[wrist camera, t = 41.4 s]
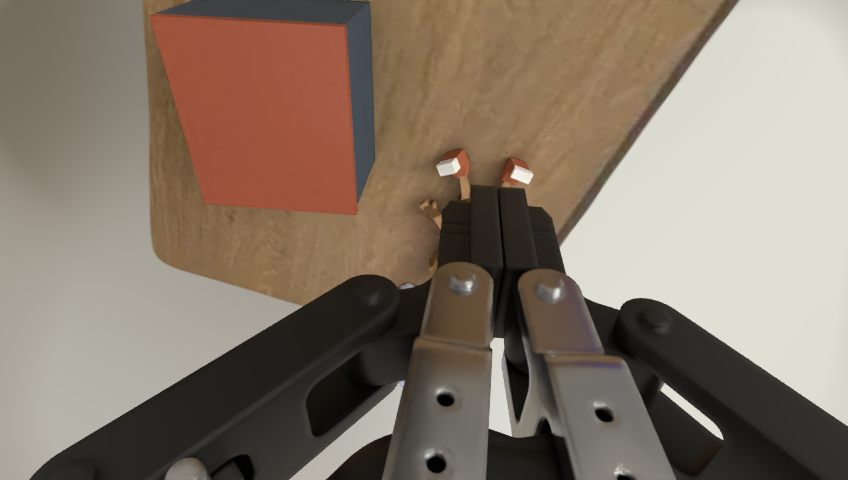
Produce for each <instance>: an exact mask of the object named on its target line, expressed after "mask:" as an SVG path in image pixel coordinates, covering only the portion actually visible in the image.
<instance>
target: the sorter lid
mask: <svg viewBox="0 0 848 480" xmlns="http://www.w3.org/2000/svg"><path fill="white" fill-rule="evenodd" d="M150 20H151V23H152V27H153V30H154V33H155V37H156V40H157V44H158V47H159V50H160V54H161V57H162V61H163V64H164V67H165V71H166V74H167V77H168V81H169V84H170V88H171V91H172V94H173V98H174V101H175V105H176V108H177V111H178V115H179V118H180V122H181V125H182V128H183V132H184V135H185V139H186V142H187V145H188V149H189V152H190V156H191V159H192V162H193V166H194V169H195V173H196V176H197V179H198V183H199V186H200V190H201V193H202V196H203V200H204V203H205V204H216V205H229V206H242V207H255V208H268V209H281V210H293V211H306V212H319V213H332V214H345V215H356V214H357V211H358V207H357V190H356V174H355V157H354V141H353V124H352V108H351V91H350V75H349V58H348V42H347V26H346V24H335V23H318V22H300V21H283V20H265V19H247V18H230V17H212V16H194V15H177V14H159V13H155V14H152V15H150Z"/></svg>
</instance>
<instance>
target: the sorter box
mask: <svg viewBox="0 0 848 480" xmlns="http://www.w3.org/2000/svg"><path fill="white" fill-rule="evenodd" d="M158 13H159V14H177V15H194V16H212V17H230V18H247V19H265V20H283V21H300V22H318V23H335V24H346V26H347V42H348V58H349V75H350V91H351V108H352V124H353V141H354V157H355V174H356V190H357V204H358V202H359V199H360V197H361V194H362V192H363V189H364V186H365V184H366V181H367V179H368V176H369V173H370V171H371V168H372V166H373V163H374V161H375V138H374V108H373V77H372V46H371V16H370V2H362V1H343V0H193V1H190V2H187V3H184V4H181V5H178V6H175V7H172V8H169V9H167V10H164V11H161V12H158Z"/></svg>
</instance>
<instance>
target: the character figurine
mask: <svg viewBox="0 0 848 480" xmlns="http://www.w3.org/2000/svg"><path fill="white" fill-rule="evenodd" d="M436 167H437V169H438V172H439V174H440V176H445V175H450V174H452V175H453V176H454V177H455V178H456V177H459V178H460V186H461V193H462V194H461V195H460V196H458V197H457V198H458V201H464V202H469V193H470V184H469V182H468V179H467V173H468V172H469V171H470V164H469V161H468V159H467V156H466V154H465V151H464V149H460V150H455V151H450V152H448V154H447V155H446V156H445V157H444V158H443V159H442V160H441V162H440V163H439V164H438V165H437V166H436ZM501 177H502V182H501V183H500V185H499V187H510V186H511V184H513V185H515V184H516V183H517V182H518V181H521V182H524V183H526V184H529V182H530V180H531V179H532V177H533V174H532V172H531V171H530V169H529V168H528V166H527V164H526V162H523V161H520V160H518V159H515V158H513V157H510V159H509V161H508V163H507V165H506V167H505V169H504V170H503V172H502V174H501ZM419 207H420V208H421V209H422V210H423V211H424V212H425V213H426V214H427V215H428V217H429V219H434V220H435V222H436V223H437V225H438V227H439V228H440V233H441V222H442V215H441V214H440V210H439V208H438V206H437V204H436V202H435V200H434V199H433V200H431V201H429V200H428V199H427V198H425V199H424V200H423V201H422V202H420V206H419ZM438 252H439V251H438ZM438 252H436V253H435V256H434V257H433V258H431V259H430V261H429V269H430V271H431V274H432V276H433V274H434V273H435V271H436V269H437V262H438Z"/></svg>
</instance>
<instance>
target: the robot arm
mask: <svg viewBox="0 0 848 480" xmlns="http://www.w3.org/2000/svg"><path fill="white" fill-rule="evenodd" d="M492 326H493V337H495V338H504V347H505V348H504V353H503V358H502V371H503V377H504V383H505V390H506V397H507V404H508V410H509V417H510V423H511V429H512V437H511V436H508V435H505V434H502V433H499V432H497V431H494V430H491V429H488V427H489V409H490V389H491V370H492V349H491V348H490V338H491V331H492ZM400 381H405V382H404V387H403V391H402V396H401V399H400V404H399V408H398V412H397V417H396V421H395V425H394V430H393V434H390V435H387V436H384V437H382V438H379V439H377V440H374V441H373V442H371V443H369V444H367V445H366V446H364V447H362V448H361V449H360V450H358V451H357V452H356V453H354V454H353V455H352V456H351V457H349V458H348V459H347V460H346V461H345V462H344V463H343V464H342V465H341V466H340V467H339V468H338V469H337V470H336V471H335V472H334V473H333V474H332V475H330V476H329V477H328V478H327V479H326V480H848V426H846V425H845V424H843V423H842V422H840V421H839V420H837V419H836V418H835V417H833V416H831V415H830V414H828V413H827V412H825V411H824V410H823V409H821V408H820V407H818V406H816V405H815V404H813V403H812V402H811V401H809V400H808V399H806V398H805V397H803V396H802V395H801V394H799V393H797V392H796V391H794V390H793V389H792V388H790V387H789V386H787V385H786V384H784V383H783V382H781V381H780V380H778V379H777V378H775V377H774V376H772V375H771V374H769V373H768V372H766V371H765V370H764V369H762V368H761V367H759V366H757V365H756V364H754V363H753V362H752V361H750V360H749V359H747V358H746V357H744V356H743V355H741V354H740V353H738V352H737V351H735V350H734V349H732V348H731V347H730V346H728V345H727V344H725V343H724V342H722V341H721V340H719V339H718V338H716V337H715V336H713V335H712V334H710V333H709V332H707V331H706V330H704V329H703V328H701V327H700V326H698V325H697V324H696V323H694V322H692V321H691V320H690V319H688V318H687V317H685V316H684V315H682V314H681V313H679V312H678V311H676V310H675V309H673V308H672V307H670V306H668V305H666V304H664V303H662V302H659V301H655V300H651V299H645V298H636V299H632V300H629V301H627V302H625V303H624V304H623V305H622V306H621V309H620V310H617V309H614V308H611V307H608V306H605V305H601V304H598V303H595V302H592V301H591V300H588V299H587V298H585V297H583V295H582V292H581V290H580V288H579V286H578V285H577V283H576V282H575V281H574V280H573V279H572V278H570V277H569V276H567V275H566V273H565V269H564V264H563V260H562V257H561V253H560V249H559V245H558V242H557V237H556V233H555V229H554V225H553V221H552V218H551V217H550V216H549V215H548V214H547V212H546V211H545V210H544V209H543V208H542V207H532V206H528V205H527V199H526V194H525V189H524V188H511V187H498V188H497V187H496V186H482V185H471V186H470V193H469V202H464V201H450V202H449V203H448V205H447V206H446V207H445V208H444V209H443V212H442V222H441V233H440V242H439V252H438V262H437V269H436V271H435V273H434V274H433V277H432V278H431V279H429V280H428V281H427V282H425V283H423V284H421V285H419V286H416V287H411V288H405V289H399V290H398V288H397V286H396V285H395V284H394V283H393V282H392V281H391V280H389V279H387V278H385V277H382V276H378V275H360V276H356V277H353V278H350V279H348V280H347V281H345V282H343V283H342V284H340V285H338V286H337V287H335V288H333V289H332V290H330V291H328V292H327V293H325V294H323V295H322V296H320V297H318V298H317V299H315V300H313V301H312V302H310V303H308V304H307V305H305V306H303V307H302V308H300V309H298V310H297V311H295V312H293V313H292V314H290V315H288V316H287V317H285V318H283V319H282V320H280V321H278V322H277V323H275V324H273V325H272V326H270V327H268V328H267V329H265V330H263V331H262V332H260V333H258V334H257V335H255V336H254V337H252V338H250V339H248V340H247V341H245V342H243V343H242V344H240V345H238V346H237V347H235V348H233V349H232V350H230V351H228V352H227V353H225V354H224V355H222V356H220V357H219V358H217V359H215V360H213V361H212V362H210V363H208V364H207V365H205V366H203V367H202V368H200V369H198V370H197V371H195V372H193V373H192V374H190V375H188V376H187V377H185V378H183V379H182V380H180V381H178V382H177V383H175V384H173V385H172V386H170V387H169V388H167V389H165V390H163V391H162V392H160V393H159V394H157V395H155V396H153V397H152V398H150V399H148V400H147V401H145V402H143V403H142V404H140V405H138V406H137V407H135V408H134V409H132V410H130V411H128V412H127V413H125V414H123V415H122V416H120V417H118V418H117V419H115V420H113V421H112V422H110V423H108V424H107V425H105V426H103V427H102V428H100V429H99V430H97V431H95V432H94V433H92V434H90V435H88V436H87V437H85V438H84V439H82V440H80V441H79V442H77V443H75V444H74V445H72V446H70V447H68V448H67V449H65V450H63V451H62V452H60V453H59V454H57V455H56V456H54V457H53V458H51V459H50V460H49V461H48V462H46V463H45V464H44V465H43V466H42V467H41V468H40V469H39V470H38V471H37V472H36V473H35V474H34V475H33V476H32V477H31V478H30V480H289V479H290V478H291V477H292V476H293V475H295V474H296V473H297V472H298V471H299V470H301V469H302V468H303V467H304V466H305V465H306V464H308V463H309V462H310V461H311V460H312V459H313V458H315V457H316V456H317V455H318V454H319V453H321V452H322V451H323V450H324V449H325V448H326V447H328V446H329V445H330V444H331V443H332V442H333V441H335V440H336V439H337V438H338V437H339V436H340V435H342V434H343V433H344V432H345V431H346V430H347V429H348V428H350V427H351V426H352V425H353V424H355V423H356V422H357V421H358V420H359V419H360V418H361V417H363V416H364V415H365V414H366V413H367V412H368V411H370V410H371V409H372V408H373V407H374V406H376V405H377V404H378V403H379V402H380V401H381V400H383V399H384V398H385V397H386V396H387V395H388V394H390V393H391V392H392V391H393V390H394V388H395V387H396V386H397V383H398V382H400ZM664 383H666V384H667V385H668V386H669V387H671V388H672V389H673V390H674V391H676V392H677V393H678V394H679V395H681V396H682V397H683V398H684V399H685V400H687V401H688V402H689V403H690V404H692V405H693V406H694V407H695V408H697V409H698V410H700V412H702V413H703V414H704V415H705V416H707V417H708V418H709V419H710V420H711V421H713V422H714V423H715V424H716V425H717V427H718V428H719V429H720V431H721V433H722V435H723V438H724V440H722V439H720V438H718V437H716V436H715V435H713V434H712V433H711V432H710V431H709V430H707V429H706V428H705V427H704V426H702V425H701V424H700V423H699V422H698V421H696V420H695V419H694V418H693V417H692V416H690V415H689V414H688V413H687V412H686V411H684V410H683V409H682V408H681V407H679V406H678V405H677V404H676V403H675V402H673V401H672V400H671V399H670V398H669V397H667V396H666V395H665V394H664V393H663V392H661V391H660V390H661V388H662V386H663V384H664Z"/></svg>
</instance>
